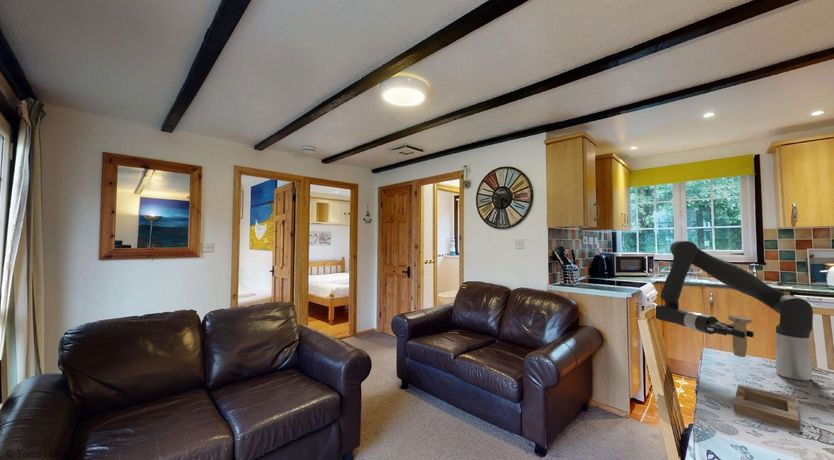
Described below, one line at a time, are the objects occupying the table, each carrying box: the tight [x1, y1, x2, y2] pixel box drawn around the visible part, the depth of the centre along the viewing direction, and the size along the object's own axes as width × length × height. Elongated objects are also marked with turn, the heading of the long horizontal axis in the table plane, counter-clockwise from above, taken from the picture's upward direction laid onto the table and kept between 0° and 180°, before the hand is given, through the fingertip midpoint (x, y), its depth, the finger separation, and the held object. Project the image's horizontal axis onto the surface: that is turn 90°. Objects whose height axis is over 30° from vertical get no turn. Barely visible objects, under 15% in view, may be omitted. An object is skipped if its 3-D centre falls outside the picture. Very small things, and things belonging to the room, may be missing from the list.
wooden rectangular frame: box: [733, 383, 800, 431], centre depth 109 cm, size 20×14×3 cm
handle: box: [727, 314, 753, 358], centre depth 126 cm, size 5×6×15 cm
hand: (748, 335), depth 124 cm, fingers closed on handle, 3 cm apart
